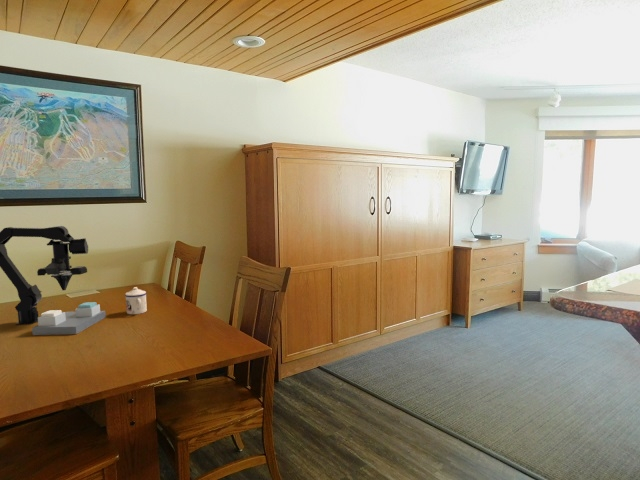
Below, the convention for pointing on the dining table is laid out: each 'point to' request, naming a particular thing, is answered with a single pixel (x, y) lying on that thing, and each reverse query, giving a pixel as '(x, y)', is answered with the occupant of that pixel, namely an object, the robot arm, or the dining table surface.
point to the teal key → (87, 305)
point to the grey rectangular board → (69, 321)
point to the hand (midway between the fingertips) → (64, 290)
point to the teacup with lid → (136, 301)
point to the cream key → (51, 313)
